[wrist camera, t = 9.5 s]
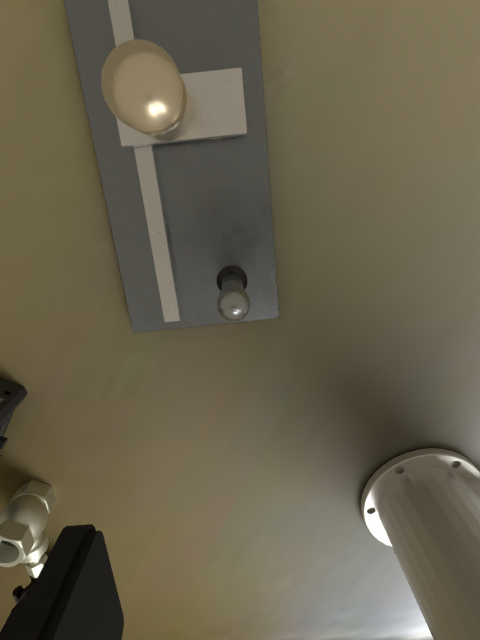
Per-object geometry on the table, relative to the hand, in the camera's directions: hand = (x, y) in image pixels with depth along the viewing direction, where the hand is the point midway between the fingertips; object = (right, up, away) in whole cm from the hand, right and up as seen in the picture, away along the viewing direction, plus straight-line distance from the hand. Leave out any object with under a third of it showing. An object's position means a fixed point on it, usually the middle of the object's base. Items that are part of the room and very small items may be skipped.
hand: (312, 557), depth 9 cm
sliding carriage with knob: (-5, +19, +18) cm, 27 cm away
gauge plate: (-6, +16, +21) cm, 27 cm away
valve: (-22, -16, +32) cm, 42 cm away
